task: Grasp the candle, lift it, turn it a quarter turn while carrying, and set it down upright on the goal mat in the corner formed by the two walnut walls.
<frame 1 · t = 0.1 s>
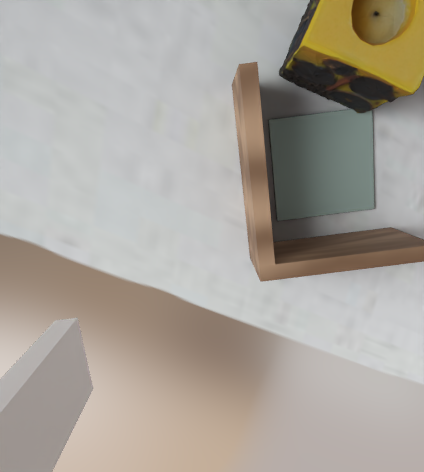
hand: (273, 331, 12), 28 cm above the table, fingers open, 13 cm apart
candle: (340, 49, 35), on the table, touching goal mat
goal mat: (322, 165, 38), on the table
corner walls: (317, 161, 38), on the table
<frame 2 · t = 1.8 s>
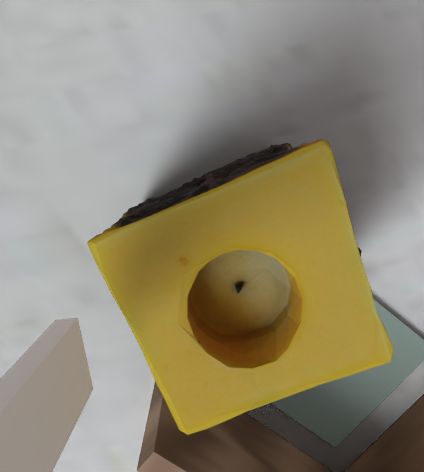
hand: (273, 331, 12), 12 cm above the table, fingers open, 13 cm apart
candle: (232, 242, 24), on the table, touching goal mat
goal mat: (330, 358, 26), on the table
corner walls: (320, 360, 26), on the table
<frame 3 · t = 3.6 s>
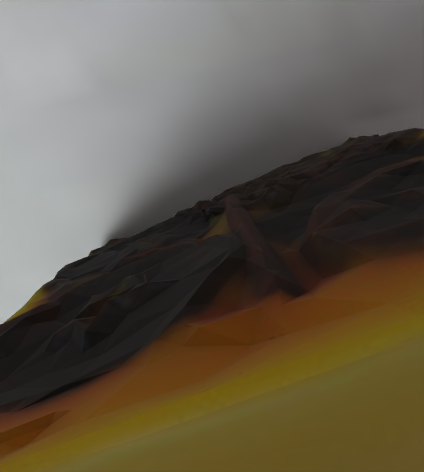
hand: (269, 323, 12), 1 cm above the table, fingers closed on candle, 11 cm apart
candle: (267, 315, 13), on the table, touching goal mat, gripper
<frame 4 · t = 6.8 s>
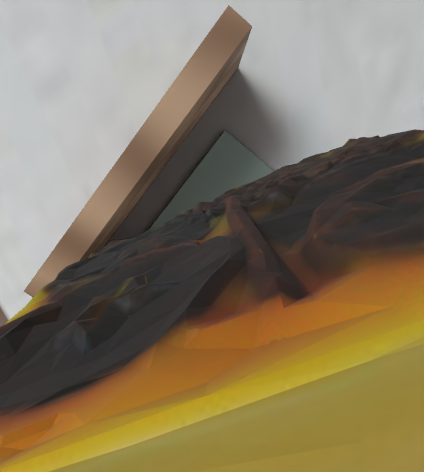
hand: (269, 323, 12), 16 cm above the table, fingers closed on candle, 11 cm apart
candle: (268, 316, 13), point 15 cm above the table, touching gripper
goal mat: (235, 230, 28), on the table
corner walls: (234, 222, 27), on the table
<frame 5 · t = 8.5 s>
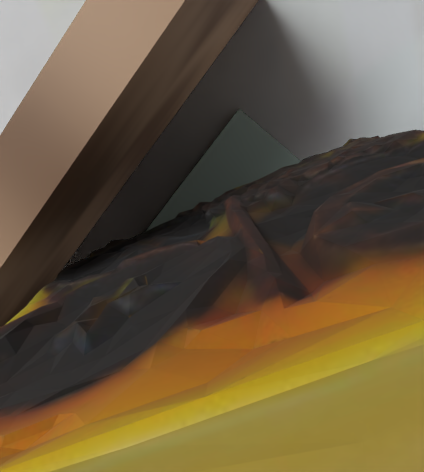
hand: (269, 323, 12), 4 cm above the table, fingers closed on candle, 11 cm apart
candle: (268, 316, 13), point 4 cm above the table, touching gripper
goal mat: (254, 279, 16), on the table
corner walls: (253, 265, 16), on the table
when the fingers open (2 cm above the table, at t = 10.1 s): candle drops 2 cm, resting on goal mat.
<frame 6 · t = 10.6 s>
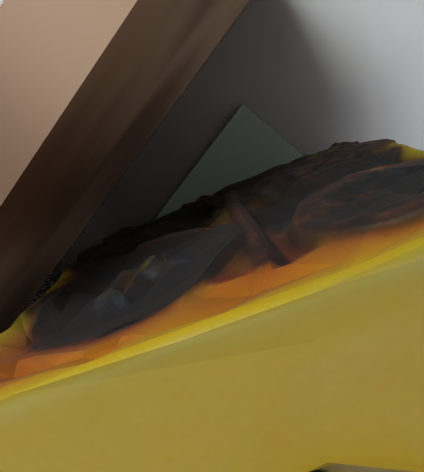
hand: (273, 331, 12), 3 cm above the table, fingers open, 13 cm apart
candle: (259, 298, 15), resting on goal mat
goal mat: (259, 297, 15), on the table
corner walls: (258, 281, 14), on the table
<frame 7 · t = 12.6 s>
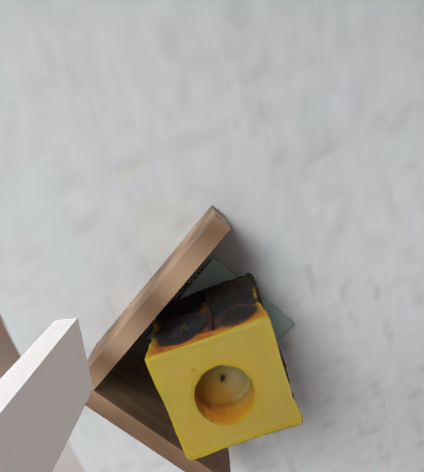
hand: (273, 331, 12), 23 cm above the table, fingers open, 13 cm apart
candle: (220, 329, 36), resting on goal mat
goal mat: (220, 328, 36), on the table
corner walls: (219, 322, 36), on the table
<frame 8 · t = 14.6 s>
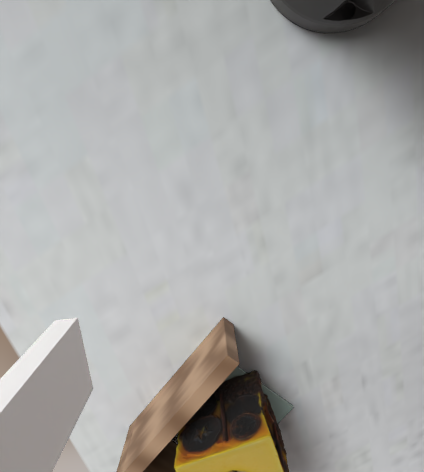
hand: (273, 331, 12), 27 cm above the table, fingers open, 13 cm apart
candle: (231, 413, 43), resting on goal mat
goal mat: (231, 412, 43), on the table
corner walls: (231, 407, 43), on the table
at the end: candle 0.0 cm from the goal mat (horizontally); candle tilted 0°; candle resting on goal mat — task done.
